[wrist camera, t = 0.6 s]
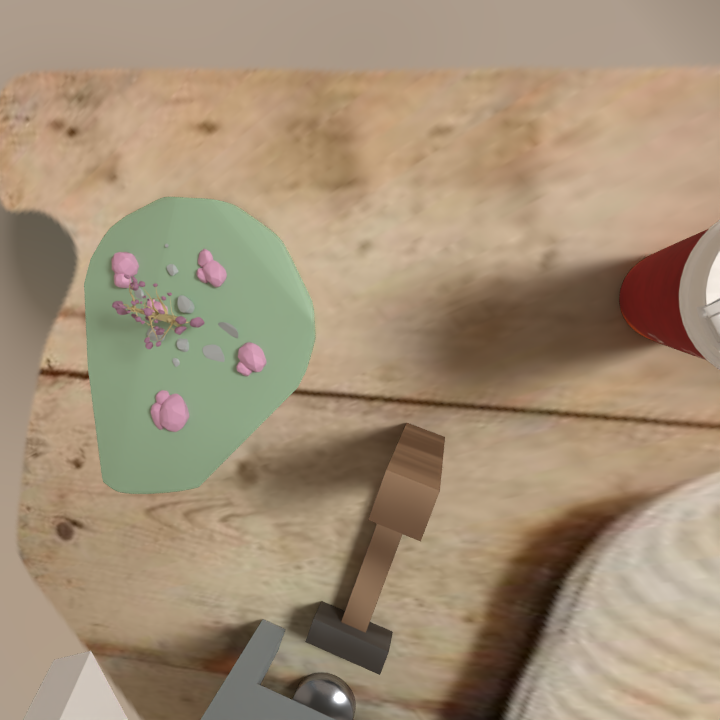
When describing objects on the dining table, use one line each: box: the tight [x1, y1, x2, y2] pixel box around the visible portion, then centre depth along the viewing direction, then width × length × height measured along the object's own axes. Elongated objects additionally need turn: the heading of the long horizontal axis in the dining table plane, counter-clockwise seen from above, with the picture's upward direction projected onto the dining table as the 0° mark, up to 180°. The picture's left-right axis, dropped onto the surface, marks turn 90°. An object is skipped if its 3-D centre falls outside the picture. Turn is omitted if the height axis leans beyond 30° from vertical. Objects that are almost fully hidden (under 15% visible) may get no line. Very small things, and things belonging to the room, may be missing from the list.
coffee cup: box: [619, 220, 720, 370], centre depth 30 cm, size 8×8×15 cm
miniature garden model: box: [84, 197, 315, 494], centre depth 40 cm, size 25×21×9 cm
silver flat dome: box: [292, 673, 356, 720], centre depth 44 cm, size 5×5×2 cm
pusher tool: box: [306, 423, 445, 675], centre depth 36 cm, size 18×6×12 cm, turn 161°
